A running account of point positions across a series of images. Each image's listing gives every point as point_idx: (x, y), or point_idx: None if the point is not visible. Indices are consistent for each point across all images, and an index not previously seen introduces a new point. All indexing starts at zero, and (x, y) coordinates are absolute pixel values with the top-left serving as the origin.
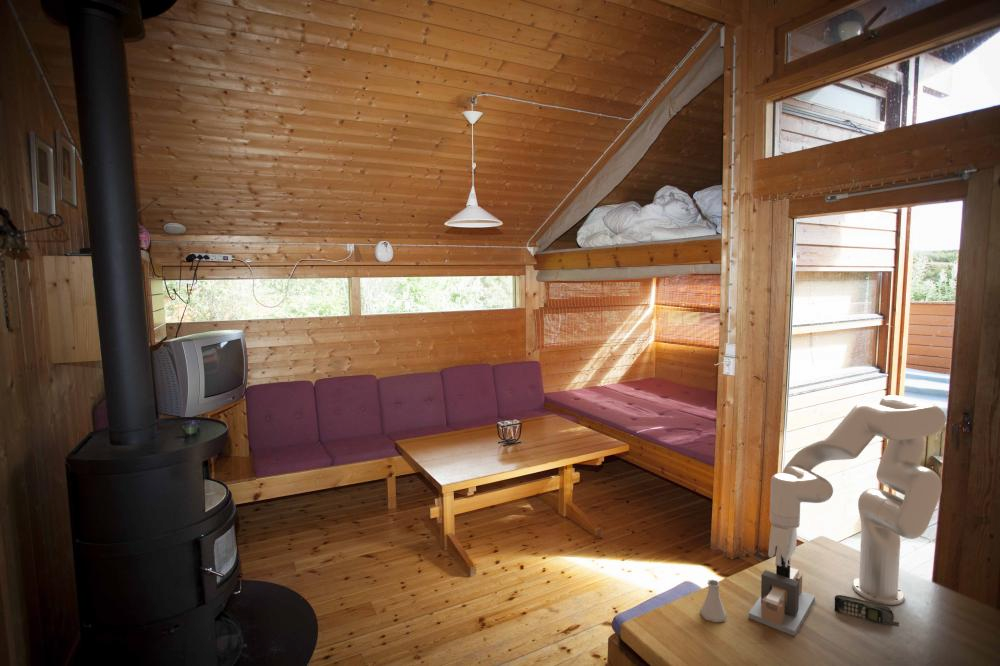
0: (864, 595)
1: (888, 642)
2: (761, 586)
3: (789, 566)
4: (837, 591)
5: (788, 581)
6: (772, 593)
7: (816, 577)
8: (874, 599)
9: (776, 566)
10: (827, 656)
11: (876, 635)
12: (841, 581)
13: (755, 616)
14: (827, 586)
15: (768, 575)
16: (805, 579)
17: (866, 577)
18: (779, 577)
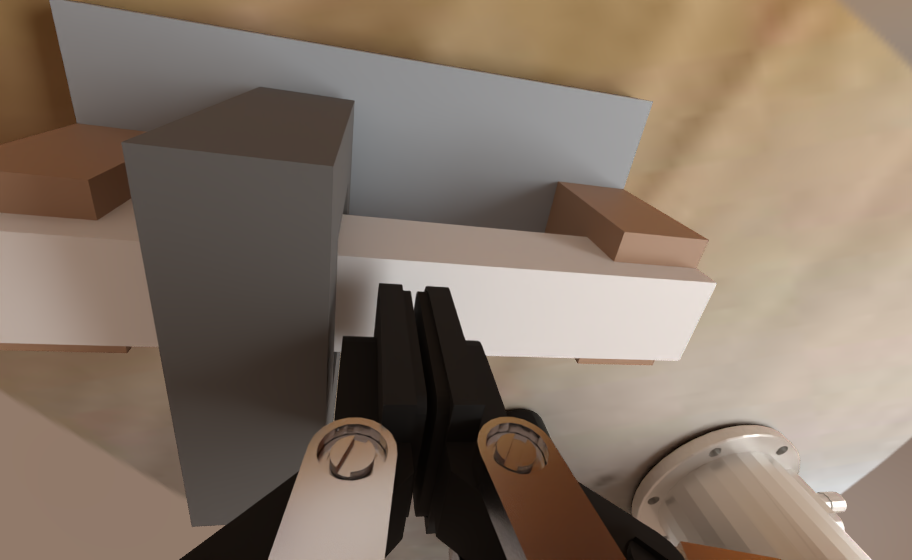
0: (659, 473)
1: (393, 550)
2: (203, 111)
3: (426, 530)
4: (675, 389)
5: (240, 459)
6: (93, 267)
7: (778, 303)
8: (641, 499)
9: (382, 372)
10: (110, 448)
11: (414, 524)
12: (761, 387)
13: (71, 68)
14: (706, 353)
15: (191, 248)
16: (750, 263)
17: (731, 543)
18: (255, 374)
